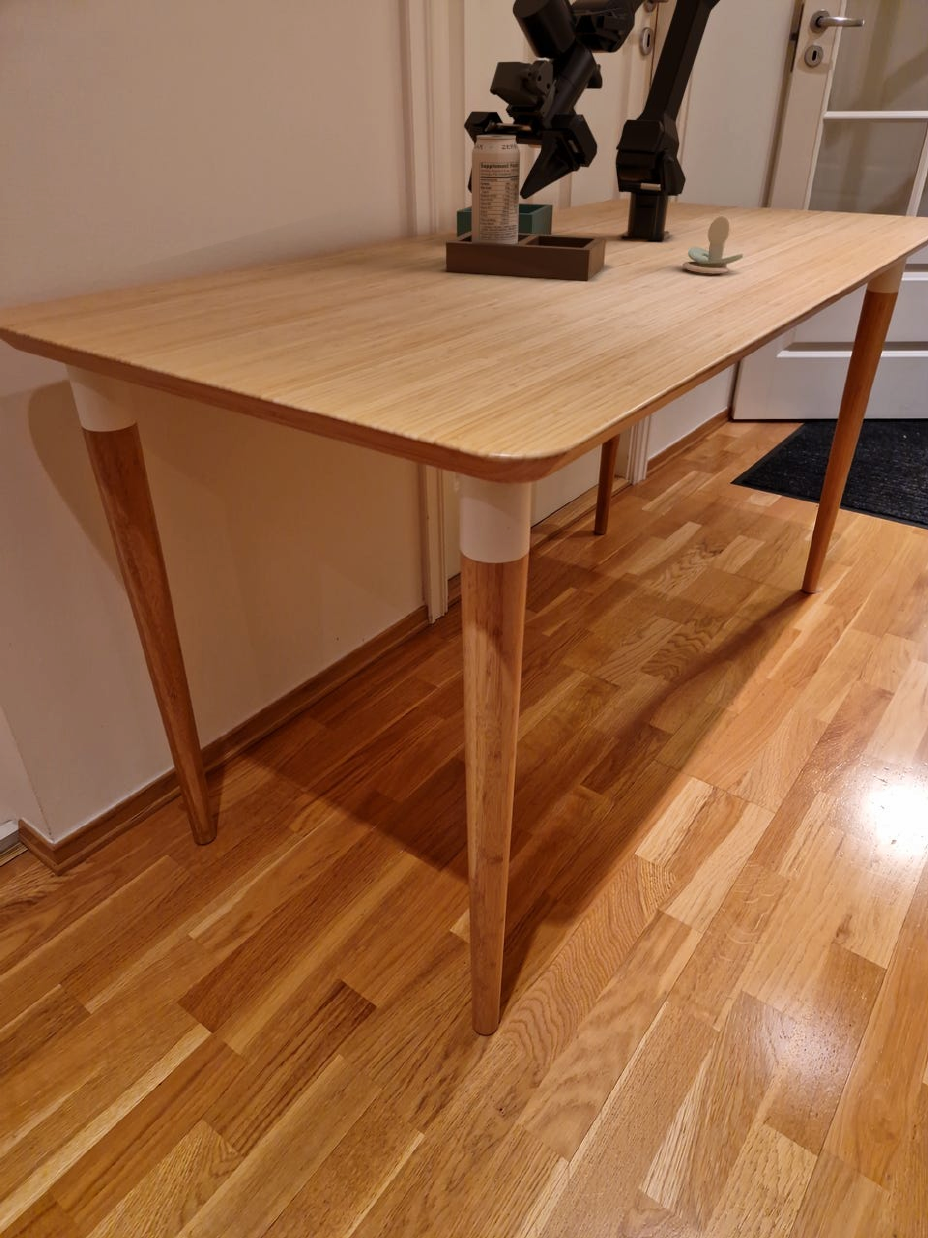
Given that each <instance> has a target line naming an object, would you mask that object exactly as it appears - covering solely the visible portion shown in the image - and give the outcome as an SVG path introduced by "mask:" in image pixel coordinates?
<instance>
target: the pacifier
mask: <svg viewBox="0 0 928 1238" xmlns="http://www.w3.org/2000/svg"><path fill="white" fill-rule="evenodd" d="M731 230H732V225H731V222H730V220H729V219H728V218H727V217H725V216H718V217H716V218H715V219H714V220H713V221H712V222H711V223H710V225H709V228H708V231H707V238H708V241H709V247H708V250H707V249H705V248H703V247H700V246H690V247H689V248H688V251H687V256H688V257H689V258H690V259H691V260H692V261H685V262H683V263H682V265H681V266H682V268H684V269H685V270H688V271H691V272H694V273H695V272H696V273H702V274H704V273H705V274H725V273H727V272H728V271H729V267H727V265H729V264H732V263H735V262H737V261H740V260H742V259H743V257H744V253H739V254H738V253H737V254H736V255H731V256H729V257H725V258H723V256H724V250H725V244H726V240H728V238H729V237H730V234H731Z"/></svg>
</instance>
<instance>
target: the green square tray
mask: <svg viewBox="0 0 928 1238" xmlns="http://www.w3.org/2000/svg"><path fill="white" fill-rule="evenodd" d="M553 207H554V205H553V204H547V203H546V204H545V203H523V202H521V203H520V202H519V216H518V233H524V234H544V235H552V228H553ZM470 231H472V205H470V206H468V207H465V208H462V209H459V210H457V211H456V238H457V237H459V236H461V235H463V234H465V233H468V232H470Z"/></svg>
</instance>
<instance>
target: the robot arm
mask: <svg viewBox="0 0 928 1238" xmlns="http://www.w3.org/2000/svg"><path fill="white" fill-rule="evenodd" d="M645 2H646V0H575V1H574V2H572V4H571V2H570V0H514V3H513V5H512V14H513V16H514V18H515V20H516V22H517V24H518V26H519V28H520V30H521V32H522V34H523V36H524V38H525V40H526V42H527V43H528V46H529V48H530V50H531V51H532V53H533V55H534V57H536V58H538V60H537V59H535V60H534V61H533V62H532V63H530V62H522V61H498V62H497V63H496V66H495V70H494V74H493V77H492V80H491V84H490V88H489V92H490V93H491V94H492V95H493V96H496V97H498V98H499V99H501V100H502V101H503V102H505V103H506V104H507V106H506V108H505V111H506V114H507V115H508V117H509V118H512V119H513V121H512V123H507V122H506V123H505V122H503V120H502V118H501V116H500V115H499V113H498V111H487V110H486V111H485V110H484V111H482V110H478V111H477V110H475V111H471V112H470V114H469V115H468V117H467V119H466V120H465V122H464V124H463V128H464V129H465V131H466V133H467V134H468V136H469V137H470V139H471V140H472V142H473V147H474V146H475V144H476V142H477V136H479V135H515V136H516V139H515V140H516V143H517V145H527V146H528V147H529V148H531V149H532V148H533V149H540V151H539V154H538V155H537V157H536V159H535V161H534V162H533V165H532V166H531V169H530V170H529V172H528V174H527V175H526V177H525V180H524V181H523V184H522V186H521V188H520V189H519V197H521V199H523V200H527V199H529V198H530V197H532V196H533V195H535V194H537V193H538V192H541V191H542V190H543V189H545V188H546V187H548V186H550V185H551V184H553V183H555V182H557V181H558V180H561V179H562V178H564V177H565V176H567V175H569V174H571V173H573V172H575V173H576V172H578V171H580V169H581V168H590V166H591V164H592V163H593V161H594V159H595V158H596V156H597V154H598V143H597V140H596V138H595V137H594V134H593V132H592V130H591V129H590V126H589V123H588V121H587V120H586V118H585V116H584V114H583V113H582V114H581V113H580V114H579V113H577V111H576V110H575V107H576V105H577V103H578V102H579V100H580V98H581V97H582V96H583V93H584V92H585V90H601V89H602V88H603V83H604V80H603V79H604V78H603V76H602V72H601V69H602V65H601V64H600V63H597V60H596V59H595V56H594V54H614V53H617V52H618V51H619V50H620V49H621V48H622V47H623V46H624V44H625V42H626V40H627V39H628V38H629V36H630V34H631V32H632V31H633V30H634V27H635V24H636V14H637V12H638V10H639V8H640V7H641V6H642V5H643V4H644V3H645ZM720 2H721V0H676V2H675V5H674V9H673V13H672V16H671V19H670V22H669V25H668V29H667V31H666V35H665V39H664V41H663V45H662V48H661V51H660V55H659V59H658V61H657V64H656V68H655V70H654V73H653V77H652V81H651V85H650V87H649V91H648V94H647V98H646V101H645V104H644V107H643V109H642V112H641V113H640V114H639V115H638V117H636V119H627V120H626V121H625V122H624V124H623V126H622V131H621V135H620V138H619V141H618V143H617V145H616V147H615V150H616V151H617V152H616V155H615V160H614V164H615V171H616V172H615V173H616V181H617V189H618V190H617V191H618V193H630V196H629V197H630V198H629V207H628V208H629V210H628V219H627V229H626V231H625V232H623V233H622V234H621V237H620V238H621V239H623V240H640V241H641V240H642V241H643V240H644V241H665V240H666V239H667V237H669V236H670V231H668V230H666V225H667V214H668V207H669V199H670V197H678V196H679V195H682V193H683V191H684V188H685V184H686V181H687V177H686V176H685V173H684V170H683V168H682V165H681V164H680V161H679V158H678V153H679V148H680V138H679V133H678V132H679V131H678V128H677V119H678V116H679V112H680V109H681V106H682V103H683V101H684V97H685V93H686V90H687V87H688V84H689V81H690V78H691V74H692V72H693V68H694V64H695V62H696V60H697V59H696V58H697V56H698V52H699V49H700V46H701V43H702V40H703V37H704V34H705V30H706V27H707V23H708V21H709V18H710V15H711V12H712V11H713V9H714V8H715V7H716V6H717V5H718V4H719V3H720ZM644 184H646V185H644ZM653 185H654V186H653ZM655 185H657V186H655ZM658 185H659V186H658ZM467 190H468V191H469V193H470V194H472V166H471V167H470V172H469V177H468V182H467Z"/></svg>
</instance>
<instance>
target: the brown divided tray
mask: <svg viewBox="0 0 928 1238" xmlns="http://www.w3.org/2000/svg"><path fill="white" fill-rule="evenodd" d="M606 244H607V237H605V236H604V237H600V236H583V235H563V234H562V235H561V234H551V235H544V234H524V233H518V243H516V244H499V243H480V242H472V231H470V232H468V233H465V234H463V235H461V236H459V237H457V236H456V237H455V238H452V239H449V240H447V241H446V242H445V272H447V273H448V272H449V273H464V274H465V273H466V274H477V275H478V274H479V275H480V274H481V275H497V276H509V277H527V278H540V279H541V278H542V279H554V280H555V279H557V280H571V281H572V280H573V281H585V282H586V281H589V280H590V279H591V278H592V277H593V276H595V275H596V274H597V273H598V272H599V271H601V269H602V268H604V267H605V257H606V246H607V245H606Z"/></svg>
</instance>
